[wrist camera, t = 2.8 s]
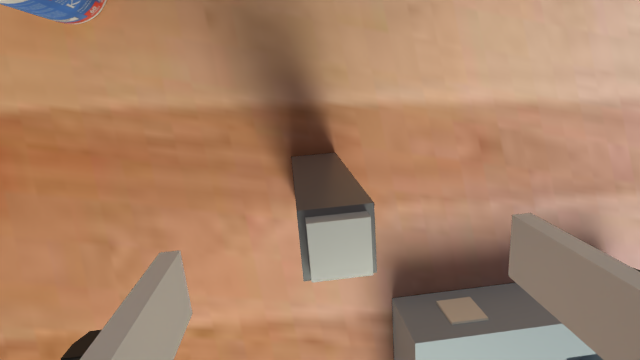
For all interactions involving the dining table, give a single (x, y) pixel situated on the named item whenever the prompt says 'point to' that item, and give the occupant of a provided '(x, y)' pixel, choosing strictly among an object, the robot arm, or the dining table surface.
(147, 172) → the dining table surface
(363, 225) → the plug
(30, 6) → the pill bottle
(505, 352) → the socket block
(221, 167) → the dining table surface
